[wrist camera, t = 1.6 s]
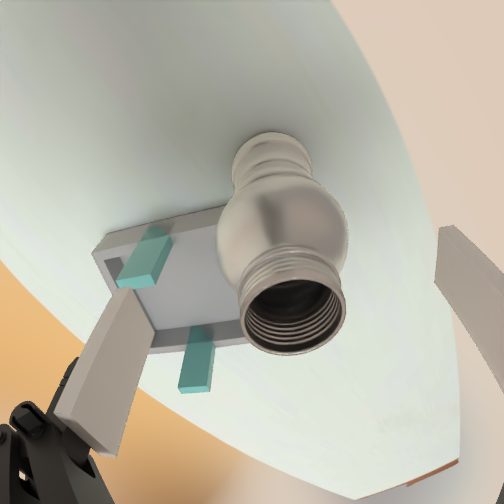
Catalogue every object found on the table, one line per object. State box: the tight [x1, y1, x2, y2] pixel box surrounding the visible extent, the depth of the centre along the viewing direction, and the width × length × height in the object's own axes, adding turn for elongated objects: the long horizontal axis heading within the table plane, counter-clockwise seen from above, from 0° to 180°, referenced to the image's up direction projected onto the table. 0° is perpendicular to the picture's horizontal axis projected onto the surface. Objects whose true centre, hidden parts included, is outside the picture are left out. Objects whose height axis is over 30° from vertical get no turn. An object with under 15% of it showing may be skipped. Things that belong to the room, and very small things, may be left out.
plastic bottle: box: [214, 132, 348, 356], centre depth 19 cm, size 6×7×20 cm
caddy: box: [91, 205, 250, 394], centre depth 30 cm, size 14×14×10 cm
